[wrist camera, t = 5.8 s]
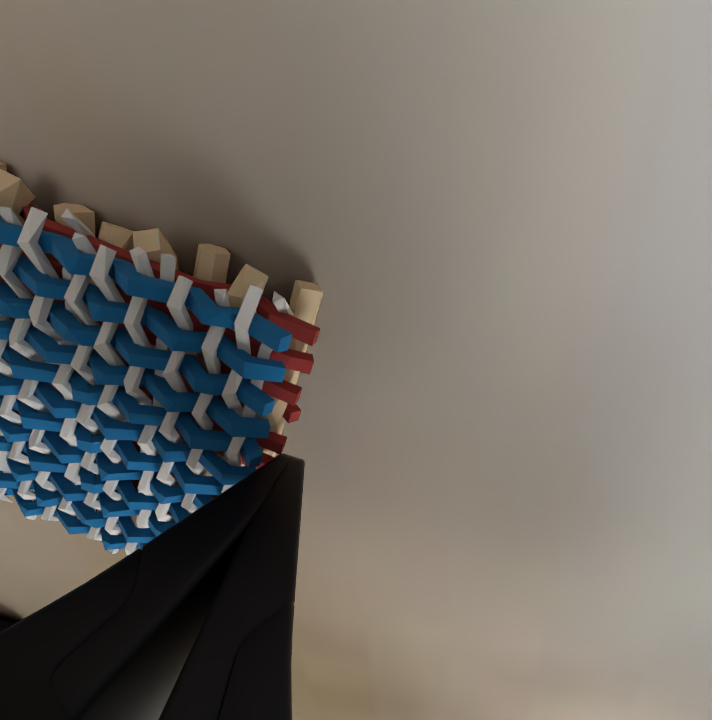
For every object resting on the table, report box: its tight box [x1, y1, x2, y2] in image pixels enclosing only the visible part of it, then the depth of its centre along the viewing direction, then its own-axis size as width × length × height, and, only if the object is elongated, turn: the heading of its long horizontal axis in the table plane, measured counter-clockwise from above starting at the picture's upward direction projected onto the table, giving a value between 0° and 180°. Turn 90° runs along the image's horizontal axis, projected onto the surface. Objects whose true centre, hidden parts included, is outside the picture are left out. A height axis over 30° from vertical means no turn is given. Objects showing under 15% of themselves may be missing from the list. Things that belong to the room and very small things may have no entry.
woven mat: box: [0, 162, 323, 555], centre depth 9 cm, size 10×11×2 cm
